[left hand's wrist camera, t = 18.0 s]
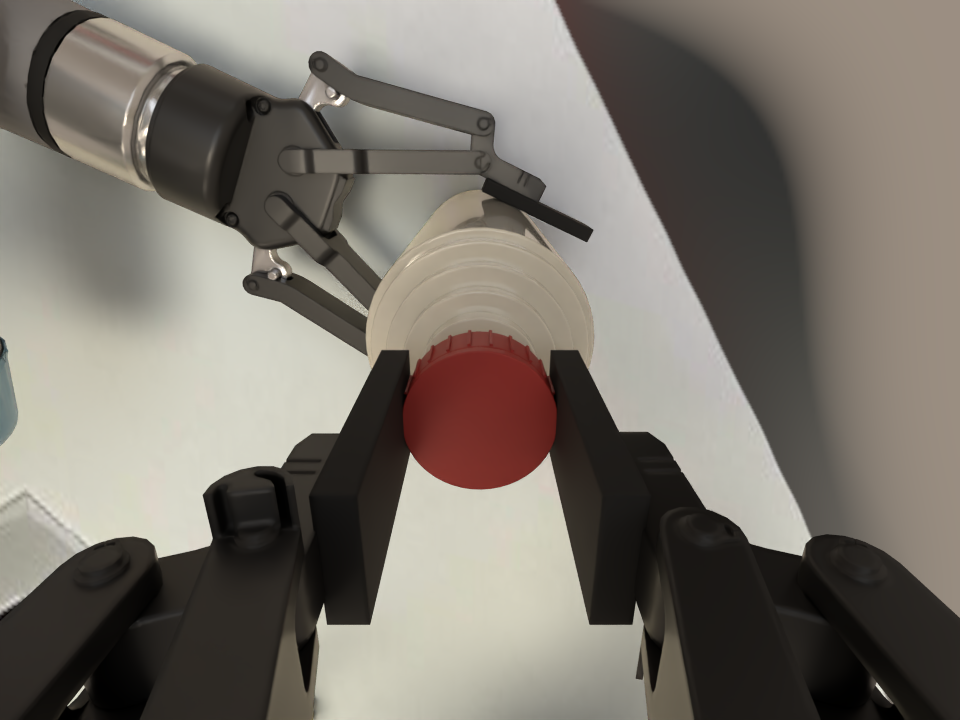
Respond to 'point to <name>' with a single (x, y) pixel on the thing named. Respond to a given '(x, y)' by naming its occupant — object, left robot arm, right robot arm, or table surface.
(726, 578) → the left robot arm
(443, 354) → the cap
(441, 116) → the right robot arm
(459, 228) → the bottle
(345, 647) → the table surface
